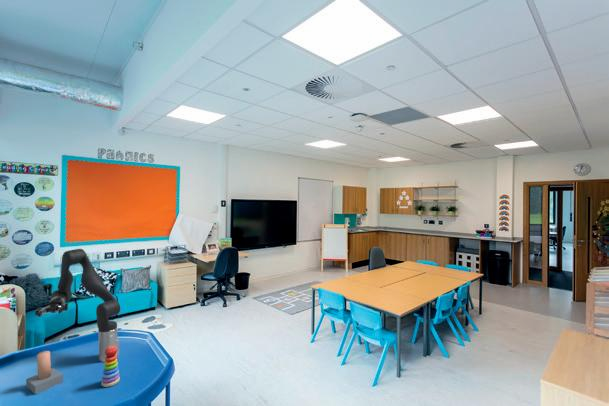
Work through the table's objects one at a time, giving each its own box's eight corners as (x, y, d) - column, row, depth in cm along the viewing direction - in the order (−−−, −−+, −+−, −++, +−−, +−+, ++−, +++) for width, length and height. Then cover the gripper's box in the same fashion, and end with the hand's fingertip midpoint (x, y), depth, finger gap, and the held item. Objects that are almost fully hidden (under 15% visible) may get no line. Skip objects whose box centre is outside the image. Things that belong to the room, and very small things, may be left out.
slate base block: (53, 375, 159) (53, 368, 159) (62, 381, 154) (62, 374, 154) (26, 387, 150) (26, 379, 150) (35, 394, 144) (35, 386, 144)
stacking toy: (110, 388, 148) (110, 351, 148) (97, 386, 150) (96, 350, 149) (123, 379, 156) (122, 343, 156) (110, 377, 158) (109, 342, 157)
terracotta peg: (48, 372, 155) (47, 349, 155) (52, 375, 153) (51, 352, 152) (36, 377, 151) (35, 354, 150) (40, 380, 148) (39, 357, 148)
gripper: (40, 300, 177) (32, 309, 163) (70, 296, 184) (65, 304, 170) (40, 312, 177) (32, 323, 163) (70, 308, 184) (65, 317, 170)
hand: (49, 313), depth 167 cm, fingers open, 8 cm apart
